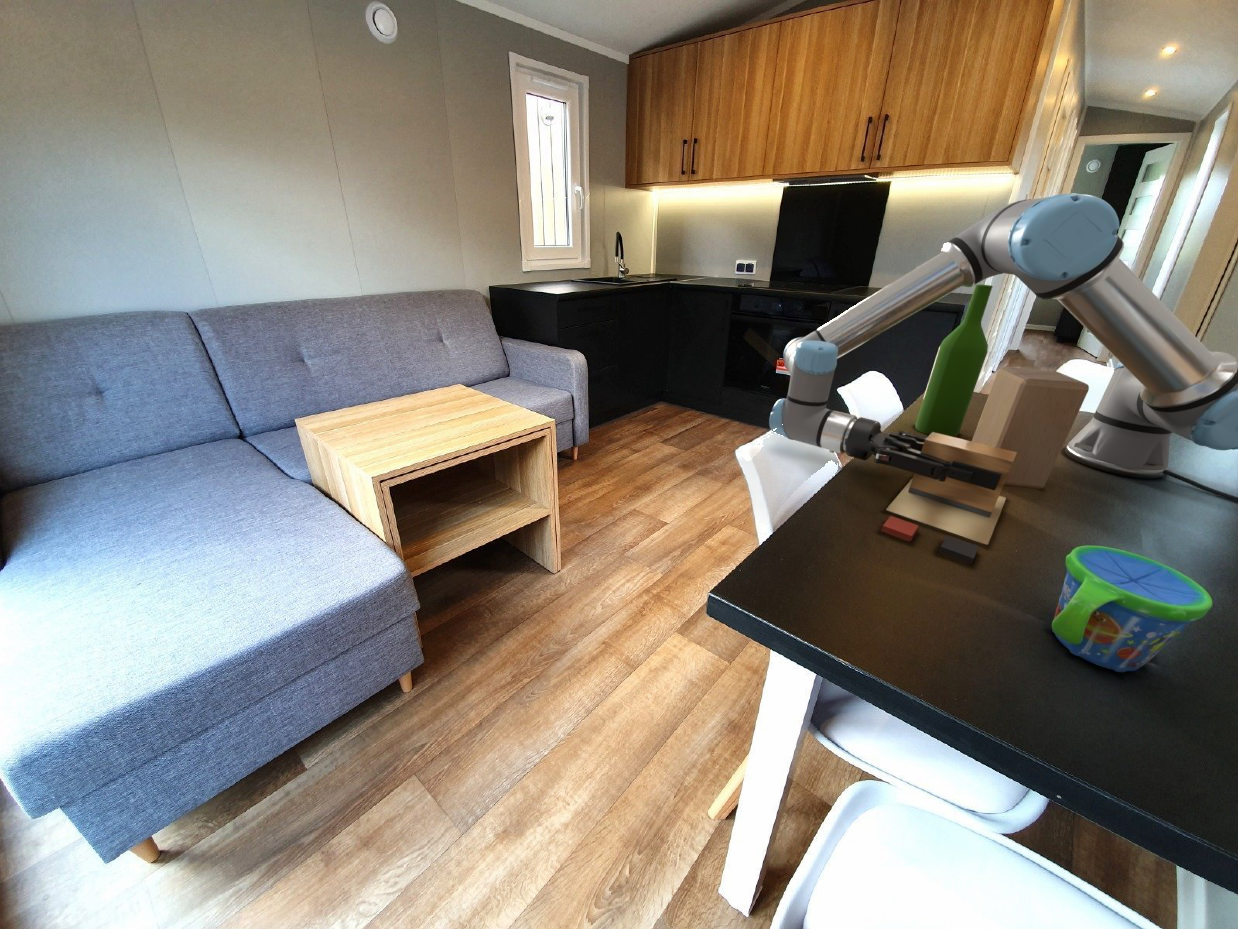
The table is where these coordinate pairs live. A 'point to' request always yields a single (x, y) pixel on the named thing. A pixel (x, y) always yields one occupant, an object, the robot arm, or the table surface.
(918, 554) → the table surface
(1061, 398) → the block
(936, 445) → the eraser
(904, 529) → the crumb
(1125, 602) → the snack cup
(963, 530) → the board
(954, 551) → the crumb
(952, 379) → the wine bottle
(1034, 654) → the table surface
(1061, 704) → the table surface
